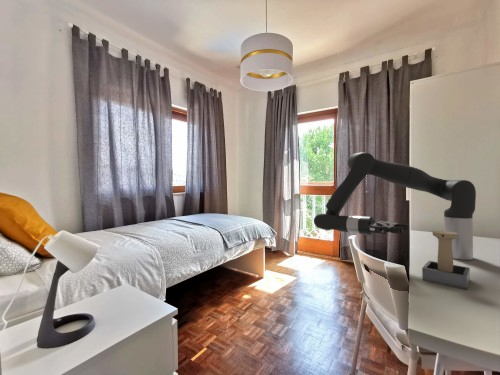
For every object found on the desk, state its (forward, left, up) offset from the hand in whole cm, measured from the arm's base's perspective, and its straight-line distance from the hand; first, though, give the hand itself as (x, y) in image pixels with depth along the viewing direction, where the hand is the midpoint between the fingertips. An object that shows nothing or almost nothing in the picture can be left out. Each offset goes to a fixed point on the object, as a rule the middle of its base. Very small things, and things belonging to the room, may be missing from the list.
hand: (405, 228), depth 87 cm
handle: (+2, +11, -15) cm, 19 cm away
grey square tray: (+2, +12, -15) cm, 19 cm away
